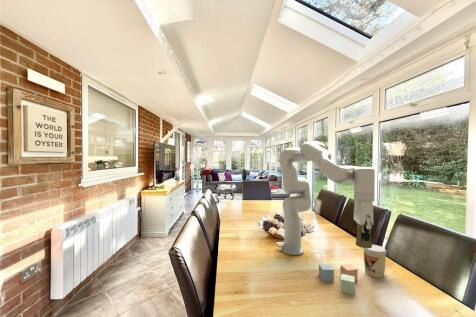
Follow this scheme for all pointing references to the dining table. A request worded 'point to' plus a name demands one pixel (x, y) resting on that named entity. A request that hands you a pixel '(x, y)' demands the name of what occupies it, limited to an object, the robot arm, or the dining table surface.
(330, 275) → the slate cube
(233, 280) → the dining table surface
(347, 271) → the terracotta cube
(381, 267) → the coffee cup
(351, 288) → the sage cube
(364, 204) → the robot arm
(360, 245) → the cork
